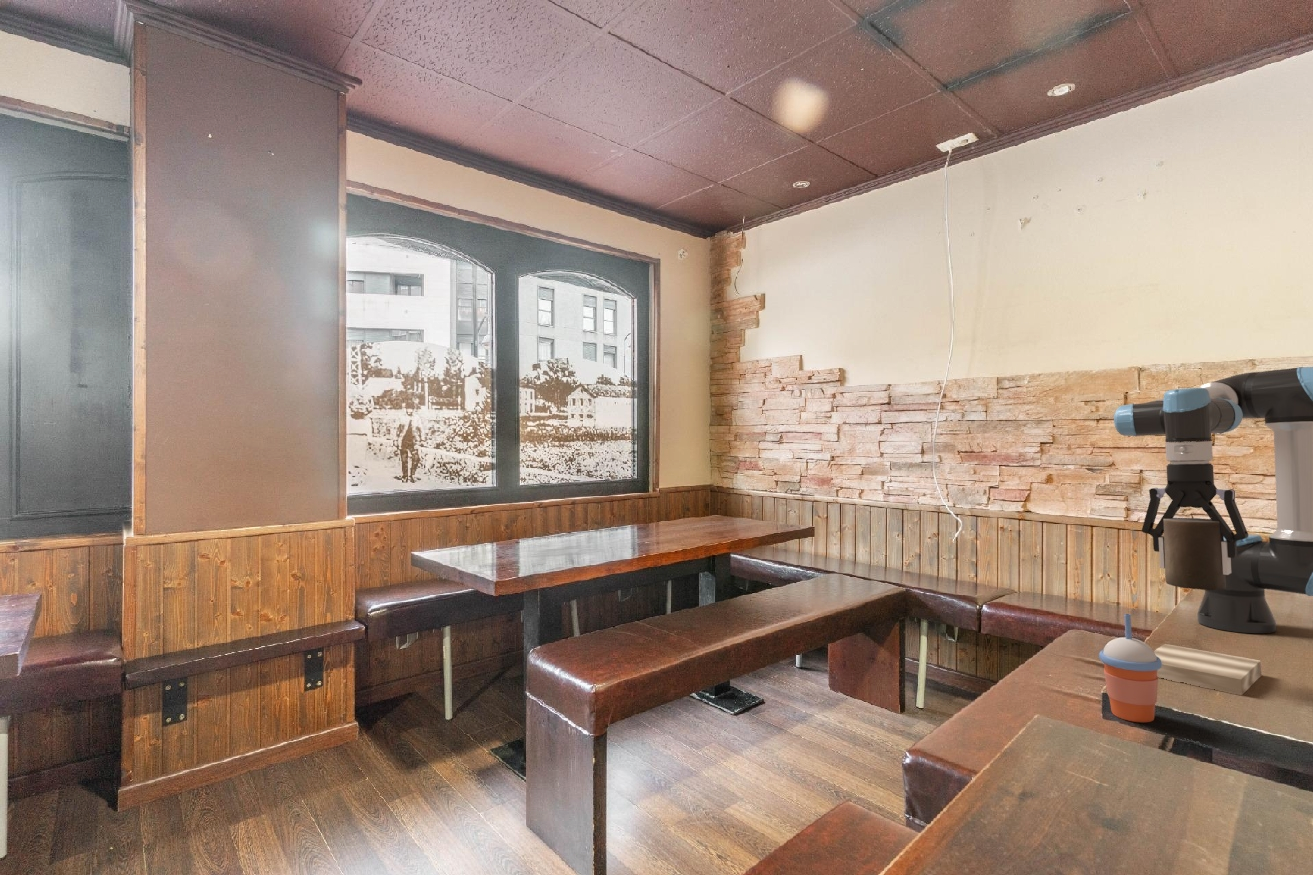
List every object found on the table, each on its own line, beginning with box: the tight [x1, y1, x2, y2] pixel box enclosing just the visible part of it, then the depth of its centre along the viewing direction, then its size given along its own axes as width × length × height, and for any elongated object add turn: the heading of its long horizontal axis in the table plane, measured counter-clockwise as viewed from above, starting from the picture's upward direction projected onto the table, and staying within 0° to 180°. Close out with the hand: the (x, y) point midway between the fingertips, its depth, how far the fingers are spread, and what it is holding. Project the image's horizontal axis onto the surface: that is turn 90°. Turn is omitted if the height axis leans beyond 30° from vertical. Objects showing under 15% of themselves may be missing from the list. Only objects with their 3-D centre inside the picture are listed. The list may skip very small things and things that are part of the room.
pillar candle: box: [1163, 513, 1226, 591], centre depth 135 cm, size 10×10×15 cm
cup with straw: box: [1098, 613, 1162, 723], centre depth 116 cm, size 9×9×18 cm
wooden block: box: [1153, 643, 1262, 696], centre depth 135 cm, size 16×16×3 cm
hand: (1194, 570), depth 135 cm, fingers closed on pillar candle, 10 cm apart
